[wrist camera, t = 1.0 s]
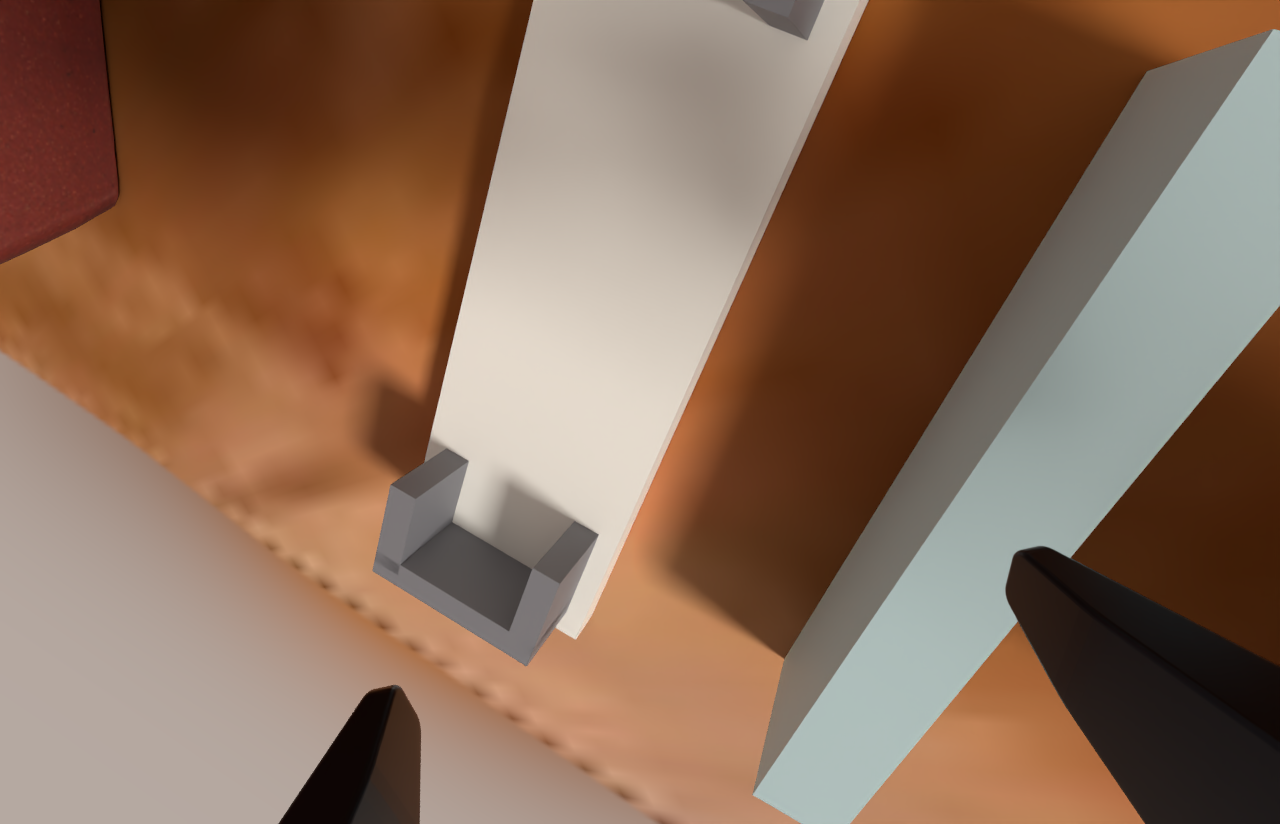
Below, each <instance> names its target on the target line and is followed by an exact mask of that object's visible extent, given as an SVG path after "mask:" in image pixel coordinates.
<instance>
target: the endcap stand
mask: <svg viewBox="0 0 1280 824" xmlns="http://www.w3.org/2000/svg"><path fill="white" fill-rule="evenodd" d="M868 1H869V0H533V4H532V9H531V13H530V17H529V21H528V26H527V30H526V34H525V38H524V42H523V47H522V51H521V55H520V59H519V64H518V68H517V72H516V76H515V81H514V85H513V89H512V93H511V97H510V102H509V106H508V110H507V114H506V119H505V123H504V127H503V131H502V135H501V140H500V144H499V148H498V152H497V157H496V161H495V165H494V169H493V174H492V178H491V182H490V186H489V190H488V195H487V199H486V203H485V207H484V212H483V216H482V220H481V224H480V228H479V233H478V237H477V241H476V245H475V250H474V254H473V258H472V262H471V267H470V271H469V275H468V279H467V283H466V288H465V292H464V296H463V300H462V305H461V309H460V313H459V317H458V322H457V326H456V330H455V334H454V338H453V343H452V347H451V351H450V355H449V360H448V364H447V368H446V372H445V376H444V381H443V385H442V389H441V393H440V398H439V402H438V406H437V410H436V415H435V419H434V423H433V427H432V431H431V436H430V440H429V444H428V448H427V453H426V457H425V461H424V463H423V464H422V465H420V466H418V467H417V468H415V469H414V470H412V471H411V472H409V473H408V474H406V475H405V476H403V477H402V478H400V479H398V480H397V481H395V482H394V483H392V484H391V486H390V490H389V495H388V500H387V505H386V509H385V514H384V519H383V524H382V528H381V533H380V538H379V543H378V547H377V552H376V557H375V562H374V566H373V572H375V573H377V574H378V575H380V576H382V577H383V578H385V579H386V580H388V581H390V582H391V583H393V584H394V585H396V586H398V587H399V588H401V589H403V590H404V591H406V592H407V593H409V594H411V595H412V596H414V597H415V598H417V599H419V600H420V601H422V602H424V603H425V604H427V605H428V606H430V607H432V608H433V609H435V610H436V611H438V612H440V613H441V614H443V615H445V616H446V617H448V618H449V619H451V620H453V621H454V622H456V623H457V624H459V625H461V626H462V627H464V628H466V629H467V630H469V631H470V632H472V633H474V634H475V635H477V636H478V637H480V638H482V639H483V640H485V641H487V642H488V643H490V644H491V645H493V646H495V647H496V648H498V649H499V650H501V651H503V652H504V653H506V654H508V655H509V656H511V657H512V658H514V659H516V660H517V661H519V662H520V663H522V664H524V665H525V666H527V665H528V664H529V663H530V661H531V660H532V658H533V657H534V656H535V654H536V653H537V652H538V650H539V649H540V648H541V646H542V645H543V643H544V642H545V641H546V639H547V638H548V637H549V635H550V634H551V633H552V631H553V630H554V628H557V629H559V630H560V631H562V632H564V633H565V634H567V635H569V636H570V637H572V638H574V639H575V640H576V638H577V637H578V635H579V634H580V632H581V631H582V630H583V628H584V627H585V625H586V624H587V622H588V621H589V619H590V618H591V616H592V614H593V612H594V610H595V607H596V605H597V603H598V601H599V599H600V596H601V594H602V592H603V590H604V587H605V585H606V583H607V581H608V579H609V576H610V574H611V572H612V570H613V567H614V565H615V563H616V561H617V559H618V556H619V554H620V552H621V550H622V547H623V545H624V543H625V541H626V539H627V536H628V534H629V532H630V530H631V527H632V525H633V523H634V521H635V519H636V516H637V514H638V512H639V510H640V507H641V505H642V503H643V501H644V499H645V496H646V494H647V492H648V490H649V487H650V485H651V483H652V481H653V479H654V476H655V474H656V472H657V470H658V467H659V465H660V463H661V461H662V459H663V456H664V454H665V452H666V450H667V447H668V445H669V443H670V441H671V439H672V436H673V434H674V432H675V430H676V427H677V425H678V423H679V421H680V419H681V416H682V414H683V412H684V410H685V407H686V405H687V403H688V401H689V399H690V396H691V394H692V392H693V390H694V387H695V385H696V383H697V381H698V379H699V376H700V374H701V372H702V370H703V367H704V365H705V363H706V361H707V359H708V356H709V354H710V352H711V350H712V347H713V345H714V343H715V341H716V339H717V336H718V334H719V332H720V330H721V327H722V325H723V323H724V321H725V319H726V316H727V314H728V312H729V310H730V307H731V305H732V303H733V301H734V299H735V296H736V294H737V292H738V290H739V287H740V285H741V283H742V281H743V279H744V276H745V274H746V272H747V270H748V267H749V265H750V263H751V261H752V259H753V256H754V254H755V252H756V250H757V247H758V245H759V243H760V241H761V239H762V236H763V234H764V232H765V230H766V227H767V225H768V223H769V221H770V219H771V216H772V214H773V212H774V210H775V207H776V205H777V203H778V201H779V199H780V196H781V194H782V192H783V190H784V187H785V185H786V183H787V181H788V179H789V176H790V174H791V172H792V170H793V167H794V165H795V163H796V161H797V159H798V156H799V154H800V152H801V150H802V147H803V145H804V143H805V141H806V139H807V136H808V134H809V132H810V130H811V127H812V125H813V123H814V121H815V119H816V116H817V114H818V112H819V110H820V107H821V105H822V103H823V101H824V99H825V96H826V94H827V92H828V90H829V87H830V85H831V83H832V81H833V79H834V76H835V74H836V72H837V70H838V67H839V65H840V63H841V61H842V59H843V56H844V54H845V52H846V50H847V47H848V45H849V43H850V41H851V39H852V36H853V34H854V32H855V30H856V27H857V25H858V23H859V21H860V19H861V16H862V14H863V12H864V10H865V7H866V5H867V3H868Z"/></svg>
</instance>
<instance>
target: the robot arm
mask: <svg viewBox="0 0 1280 824" xmlns="http://www.w3.org/2000/svg"><path fill="white" fill-rule="evenodd" d="M1005 594H1006V598H1007V601H1008V604H1009V606H1010V608H1011V609H1012V611H1013V613H1014V615H1015V617H1016V619H1017V620H1018V622H1019V624H1020V626H1021V628H1022V630H1023V631H1024V633H1025V635H1026V637H1027V639H1028V641H1029V642H1030V644H1031V646H1032V648H1033V650H1034V652H1035V653H1036V655H1037V657H1038V659H1039V661H1040V663H1041V664H1042V666H1043V668H1044V670H1045V672H1046V673H1047V675H1048V677H1049V679H1050V681H1051V683H1052V684H1053V686H1054V688H1055V690H1056V691H1057V693H1058V695H1059V697H1060V698H1061V700H1062V702H1063V703H1064V705H1065V706H1066V708H1067V709H1068V711H1069V712H1070V714H1071V715H1072V717H1073V718H1074V720H1075V721H1076V723H1077V724H1078V726H1079V727H1080V729H1081V730H1082V732H1083V733H1084V735H1085V736H1086V738H1087V739H1088V741H1089V742H1090V743H1091V745H1092V746H1093V748H1094V749H1095V751H1096V752H1097V754H1098V755H1099V757H1100V758H1101V760H1102V761H1103V763H1104V764H1105V766H1106V767H1107V768H1108V770H1109V771H1110V773H1111V774H1112V776H1113V777H1114V779H1115V780H1116V782H1117V783H1118V785H1119V786H1120V788H1121V789H1122V790H1123V792H1124V793H1125V795H1126V796H1127V798H1128V799H1129V801H1130V802H1131V804H1132V805H1133V807H1134V808H1135V810H1136V811H1137V813H1138V814H1139V815H1140V817H1141V818H1142V820H1143V821H1144V823H1145V824H1280V666H1278V665H1276V664H1274V663H1272V662H1270V661H1268V660H1267V659H1265V658H1263V657H1261V656H1259V655H1257V654H1255V653H1253V652H1251V651H1249V650H1247V649H1245V648H1243V647H1241V646H1239V645H1238V644H1236V643H1234V642H1232V641H1230V640H1228V639H1226V638H1224V637H1222V636H1220V635H1218V634H1216V633H1214V632H1212V631H1210V630H1209V629H1207V628H1205V627H1203V626H1201V625H1199V624H1197V623H1195V622H1193V621H1191V620H1189V619H1187V618H1185V617H1183V616H1181V615H1179V614H1178V613H1176V612H1174V611H1172V610H1170V609H1168V608H1166V607H1164V606H1162V605H1160V604H1158V603H1156V602H1154V601H1152V600H1150V599H1149V598H1147V597H1145V596H1143V595H1141V594H1139V593H1137V592H1135V591H1133V590H1131V589H1129V588H1127V587H1125V586H1123V585H1121V584H1120V583H1118V582H1116V581H1114V580H1112V579H1110V578H1108V577H1106V576H1104V575H1102V574H1100V573H1098V572H1096V571H1094V570H1092V569H1090V568H1089V567H1087V566H1085V565H1083V564H1081V563H1079V562H1077V561H1075V560H1073V559H1071V558H1069V557H1067V556H1065V555H1063V554H1061V553H1060V552H1058V551H1056V550H1054V549H1052V548H1049V547H1046V546H1036V547H1031V548H1027V549H1022V550H1019V551H1017V552H1016V553H1015V554H1014V555H1013V558H1012V562H1011V566H1010V570H1009V574H1008V578H1007V582H1006V586H1005ZM420 757H421V728H420V722H419V719H418V716H417V714H416V712H415V711H414V709H413V707H412V705H411V704H410V702H409V700H408V698H407V697H406V695H405V693H404V691H403V690H402V688H401V687H399V686H397V685H391V686H387V687H382V688H378V689H373V690H371V691H369V692H368V693H367V694H366V695H365V696H364V697H363V698H362V700H361V701H360V703H359V704H358V706H357V707H356V709H355V710H354V712H353V713H352V715H351V716H350V718H349V719H348V721H347V722H346V724H345V725H344V727H343V729H342V730H341V731H340V733H339V734H338V736H337V737H336V739H335V741H334V742H333V743H332V745H331V746H330V748H329V749H328V751H327V752H326V754H325V755H324V757H323V758H322V760H321V761H320V763H319V764H318V766H317V767H316V769H315V770H314V772H313V773H312V774H311V776H310V778H309V779H308V780H307V782H306V784H305V785H304V786H303V788H302V789H301V791H300V792H299V794H298V796H297V797H296V798H295V800H294V801H293V803H292V804H291V806H290V807H289V809H288V810H287V812H286V813H285V815H284V816H283V818H282V819H281V821H280V822H279V824H420V823H419V822H420V763H421V758H420Z"/></svg>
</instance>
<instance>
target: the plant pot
mask: <svg viewBox="0 0 1280 824" xmlns="http://www.w3.org/2000/svg"><path fill="white" fill-rule="evenodd" d="M118 196H119V194H118V177H117V167H116V159H115V151H114V136H113V127H112V117H111V108H110V99H109V90H108V81H107V72H106V62H105V53H104V43H103V33H102V23H101V12H100V2H99V0H0V264H2V263H4V262H6V261H9V260H11V259H13V258H15V257H17V256H20V255H22V254H24V253H26V252H28V251H30V250H32V249H34V248H36V247H38V246H41V245H43V244H45V243H47V242H49V241H51V240H53V239H55V238H57V237H59V236H61V235H63V234H66V233H68V232H70V231H72V230H74V229H76V228H78V227H79V226H81V225H83V224H84V223H86V222H88V221H89V220H91V219H93V218H94V217H96V216H98V215H100V214H102V213H103V212H105V211H107V210H109V209H111V208H112V207H113V206H115V204H116V201H117V198H118Z"/></svg>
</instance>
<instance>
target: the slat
mask: <svg viewBox="0 0 1280 824" xmlns="http://www.w3.org/2000/svg"><path fill="white" fill-rule="evenodd" d="M1279 306H1280V31H1279V30H1275V29H1272V30H1269V31H1266V32H1263V33H1260V34H1257V35H1254V36H1251V37H1248V38H1245V39H1242V40H1239V41H1236V42H1233V43H1230V44H1227V45H1224V46H1221V47H1218V48H1215V49H1212V50H1209V51H1206V52H1203V53H1200V54H1197V55H1194V56H1191V57H1188V58H1185V59H1182V60H1179V61H1176V62H1173V63H1170V64H1167V65H1164V66H1161V67H1158V68H1155V69H1152V70H1149V71H1147V72H1146V74H1145V75H1144V77H1143V78H1142V80H1141V82H1140V83H1139V85H1138V86H1137V88H1136V90H1135V91H1134V93H1133V95H1132V96H1131V98H1130V99H1129V101H1128V103H1127V104H1126V106H1125V108H1124V109H1123V111H1122V112H1121V114H1120V116H1119V117H1118V119H1117V121H1116V122H1115V124H1114V125H1113V127H1112V129H1111V130H1110V132H1109V133H1108V135H1107V137H1106V138H1105V140H1104V142H1103V143H1102V145H1101V146H1100V148H1099V150H1098V151H1097V153H1096V155H1095V156H1094V158H1093V159H1092V161H1091V163H1090V164H1089V166H1088V168H1087V169H1086V171H1085V172H1084V174H1083V176H1082V177H1081V179H1080V180H1079V182H1078V184H1077V185H1076V187H1075V189H1074V190H1073V192H1072V193H1071V195H1070V197H1069V198H1068V200H1067V202H1066V203H1065V205H1064V206H1063V208H1062V210H1061V211H1060V213H1059V215H1058V216H1057V218H1056V219H1055V221H1054V223H1053V224H1052V226H1051V227H1050V229H1049V231H1048V232H1047V234H1046V236H1045V237H1044V239H1043V240H1042V242H1041V244H1040V245H1039V247H1038V249H1037V250H1036V252H1035V253H1034V255H1033V257H1032V258H1031V260H1030V262H1029V263H1028V265H1027V266H1026V268H1025V270H1024V271H1023V273H1022V274H1021V276H1020V278H1019V279H1018V281H1017V283H1016V284H1015V286H1014V287H1013V289H1012V291H1011V292H1010V294H1009V296H1008V297H1007V299H1006V300H1005V302H1004V304H1003V305H1002V307H1001V309H1000V310H999V312H998V313H997V315H996V317H995V318H994V320H993V322H992V323H991V325H990V326H989V328H988V330H987V331H986V333H985V334H984V336H983V338H982V339H981V341H980V343H979V344H978V346H977V347H976V349H975V351H974V352H973V354H972V356H971V357H970V359H969V360H968V362H967V364H966V365H965V367H964V369H963V370H962V372H961V373H960V375H959V377H958V378H957V380H956V381H955V383H954V385H953V386H952V388H951V390H950V391H949V393H948V394H947V396H946V398H945V399H944V401H943V403H942V404H941V406H940V407H939V409H938V411H937V412H936V414H935V416H934V417H933V419H932V420H931V422H930V424H929V425H928V427H927V428H926V430H925V432H924V433H923V435H922V437H921V438H920V440H919V441H918V443H917V445H916V446H915V448H914V450H913V451H912V453H911V454H910V456H909V458H908V459H907V461H906V463H905V464H904V466H903V467H902V469H901V471H900V472H899V474H898V475H897V477H896V479H895V480H894V482H893V484H892V485H891V487H890V488H889V490H888V492H887V493H886V495H885V497H884V498H883V500H882V501H881V503H880V505H879V506H878V508H877V510H876V511H875V513H874V514H873V516H872V518H871V519H870V521H869V522H868V524H867V526H866V527H865V529H864V531H863V532H862V534H861V535H860V537H859V539H858V540H857V542H856V544H855V545H854V547H853V548H852V550H851V552H850V553H849V555H848V557H847V558H846V560H845V561H844V563H843V565H842V566H841V568H840V569H839V571H838V573H837V574H836V576H835V578H834V579H833V581H832V582H831V584H830V586H829V587H828V589H827V591H826V592H825V594H824V595H823V597H822V599H821V600H820V602H819V604H818V605H817V607H816V608H815V610H814V612H813V613H812V615H811V616H810V618H809V620H808V621H807V623H806V625H805V626H804V628H803V629H802V631H801V633H800V634H799V636H798V638H797V639H796V641H795V642H794V644H793V646H792V647H791V649H790V651H789V652H788V654H787V655H786V657H785V659H784V662H783V667H782V671H781V675H780V680H779V684H778V688H777V692H776V697H775V701H774V705H773V709H772V714H771V718H770V722H769V726H768V731H767V735H766V739H765V744H764V748H763V752H762V756H761V761H760V765H759V769H758V773H757V778H756V782H755V786H754V791H753V795H754V796H755V797H757V798H759V799H760V800H762V801H764V802H766V803H767V804H769V805H771V806H772V807H774V808H776V809H778V810H779V811H781V812H783V813H784V814H786V815H788V816H790V817H791V818H793V819H795V820H796V821H798V822H800V823H801V824H850V823H851V822H852V820H853V819H854V818H855V817H856V816H857V814H858V813H859V812H860V811H861V810H862V808H863V807H864V806H865V805H866V804H867V802H868V801H869V800H870V799H871V798H872V796H873V795H874V794H875V793H876V792H877V790H878V789H879V788H880V787H881V786H882V784H883V783H884V782H885V781H886V779H887V778H888V777H889V776H890V775H891V773H892V772H893V771H894V770H895V769H896V767H897V766H898V765H899V764H900V763H901V761H902V760H903V759H904V758H905V757H906V755H907V754H908V753H909V752H910V751H911V749H912V748H913V747H914V746H915V745H916V743H917V742H918V741H919V740H920V738H921V737H922V736H923V735H924V734H925V732H926V731H927V730H928V729H929V728H930V726H931V725H932V724H933V723H934V722H935V720H936V719H937V718H938V717H939V716H940V714H941V713H942V712H943V711H944V710H945V708H946V707H947V706H948V705H949V704H950V702H951V701H952V700H953V699H954V698H955V696H956V695H957V694H958V693H959V691H960V690H961V689H962V688H963V687H964V685H965V684H966V683H967V682H968V681H969V679H970V678H971V677H972V676H973V675H974V673H975V672H976V671H977V670H978V669H979V667H980V666H981V665H982V664H983V663H984V661H985V660H986V659H987V658H988V657H989V655H990V654H991V653H992V652H993V651H994V649H995V648H996V647H997V646H998V644H999V643H1000V642H1001V641H1002V640H1003V638H1004V637H1005V636H1006V635H1007V634H1008V632H1009V631H1010V630H1011V629H1012V628H1013V626H1014V625H1015V624H1016V623H1017V622H1018V620H1017V619H1016V617H1015V615H1014V613H1013V611H1012V609H1011V608H1010V606H1009V604H1008V601H1007V598H1006V594H1005V586H1006V582H1007V578H1008V574H1009V570H1010V566H1011V562H1012V558H1013V555H1014V554H1015V553H1016V552H1017V551H1019V550H1022V549H1027V548H1031V547H1036V546H1046V547H1049V548H1052V549H1054V550H1056V551H1058V552H1060V553H1061V554H1063V555H1065V556H1067V557H1069V558H1071V556H1072V555H1073V554H1074V553H1075V552H1076V550H1077V549H1078V548H1079V547H1080V546H1081V544H1082V543H1083V542H1084V541H1085V540H1086V538H1087V537H1088V536H1089V535H1090V534H1091V532H1092V531H1093V530H1094V529H1095V528H1096V526H1097V525H1098V524H1099V523H1100V522H1101V520H1102V519H1103V518H1104V517H1105V516H1106V514H1107V513H1108V512H1109V511H1110V509H1111V508H1112V507H1113V506H1114V505H1115V503H1116V502H1117V501H1118V500H1119V499H1120V497H1121V496H1122V495H1123V494H1124V493H1125V491H1126V490H1127V489H1128V488H1129V487H1130V485H1131V484H1132V483H1133V482H1134V481H1135V479H1136V478H1137V477H1138V476H1139V475H1140V473H1141V472H1142V471H1143V470H1144V469H1145V467H1146V466H1147V465H1148V464H1149V462H1150V461H1151V460H1152V459H1153V458H1154V456H1155V455H1156V454H1157V453H1158V452H1159V450H1160V449H1161V448H1162V447H1163V446H1164V444H1165V443H1166V442H1167V441H1168V440H1169V438H1170V437H1171V436H1172V435H1173V434H1174V432H1175V431H1176V430H1177V429H1178V428H1179V426H1180V425H1181V424H1182V423H1183V422H1184V420H1185V419H1186V418H1187V417H1188V415H1189V414H1190V413H1191V412H1192V411H1193V409H1194V408H1195V407H1196V406H1197V405H1198V403H1199V402H1200V401H1201V400H1202V399H1203V397H1204V396H1205V395H1206V394H1207V393H1208V391H1209V390H1210V389H1211V388H1212V387H1213V385H1214V384H1215V383H1216V382H1217V381H1218V379H1219V378H1220V377H1221V376H1222V374H1223V373H1224V372H1225V371H1226V370H1227V368H1228V367H1229V366H1230V365H1231V364H1232V362H1233V361H1234V360H1235V359H1236V358H1237V356H1238V355H1239V354H1240V353H1241V352H1242V350H1243V349H1244V348H1245V347H1246V346H1247V344H1248V343H1249V342H1250V341H1251V340H1252V338H1253V337H1254V336H1255V335H1256V334H1257V332H1258V331H1259V330H1260V329H1261V327H1262V326H1263V325H1264V324H1265V323H1266V321H1267V320H1268V319H1269V318H1270V317H1271V315H1272V314H1273V313H1274V312H1275V311H1276V309H1277V308H1278V307H1279Z"/></svg>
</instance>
